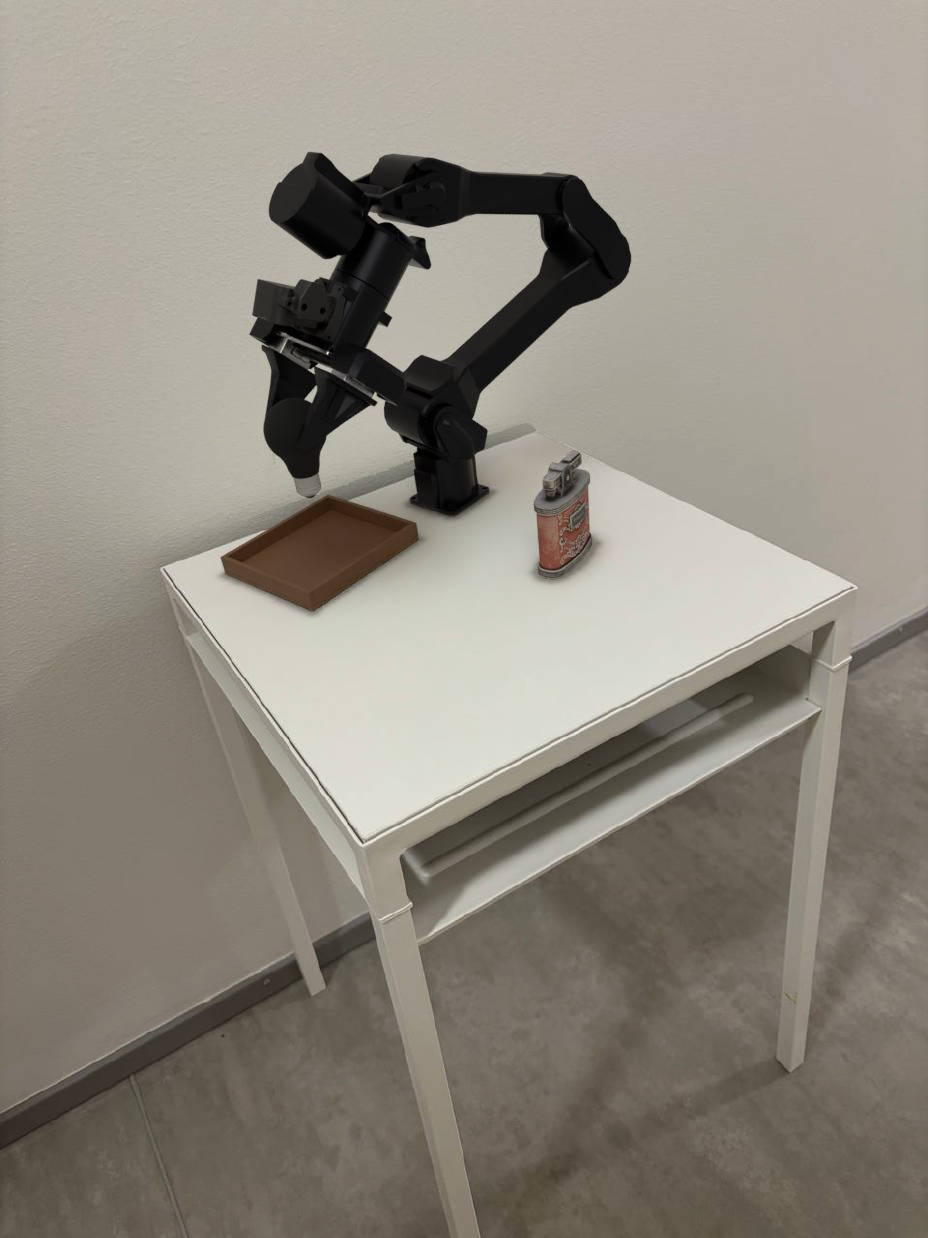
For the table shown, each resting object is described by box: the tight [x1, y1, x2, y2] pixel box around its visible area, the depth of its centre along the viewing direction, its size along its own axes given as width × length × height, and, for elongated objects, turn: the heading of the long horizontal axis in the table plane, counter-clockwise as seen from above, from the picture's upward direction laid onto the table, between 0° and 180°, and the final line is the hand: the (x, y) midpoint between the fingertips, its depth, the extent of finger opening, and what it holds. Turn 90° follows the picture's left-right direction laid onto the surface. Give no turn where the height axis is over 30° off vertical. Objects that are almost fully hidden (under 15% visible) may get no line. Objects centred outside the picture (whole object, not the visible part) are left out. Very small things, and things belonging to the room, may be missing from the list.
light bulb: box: [262, 398, 328, 499], centre depth 89 cm, size 6×6×10 cm
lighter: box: [533, 449, 593, 580], centre depth 88 cm, size 8×3×10 cm, turn 148°
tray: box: [220, 494, 420, 612], centre depth 96 cm, size 15×13×2 cm
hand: (283, 439), depth 88 cm, fingers closed on light bulb, 6 cm apart
